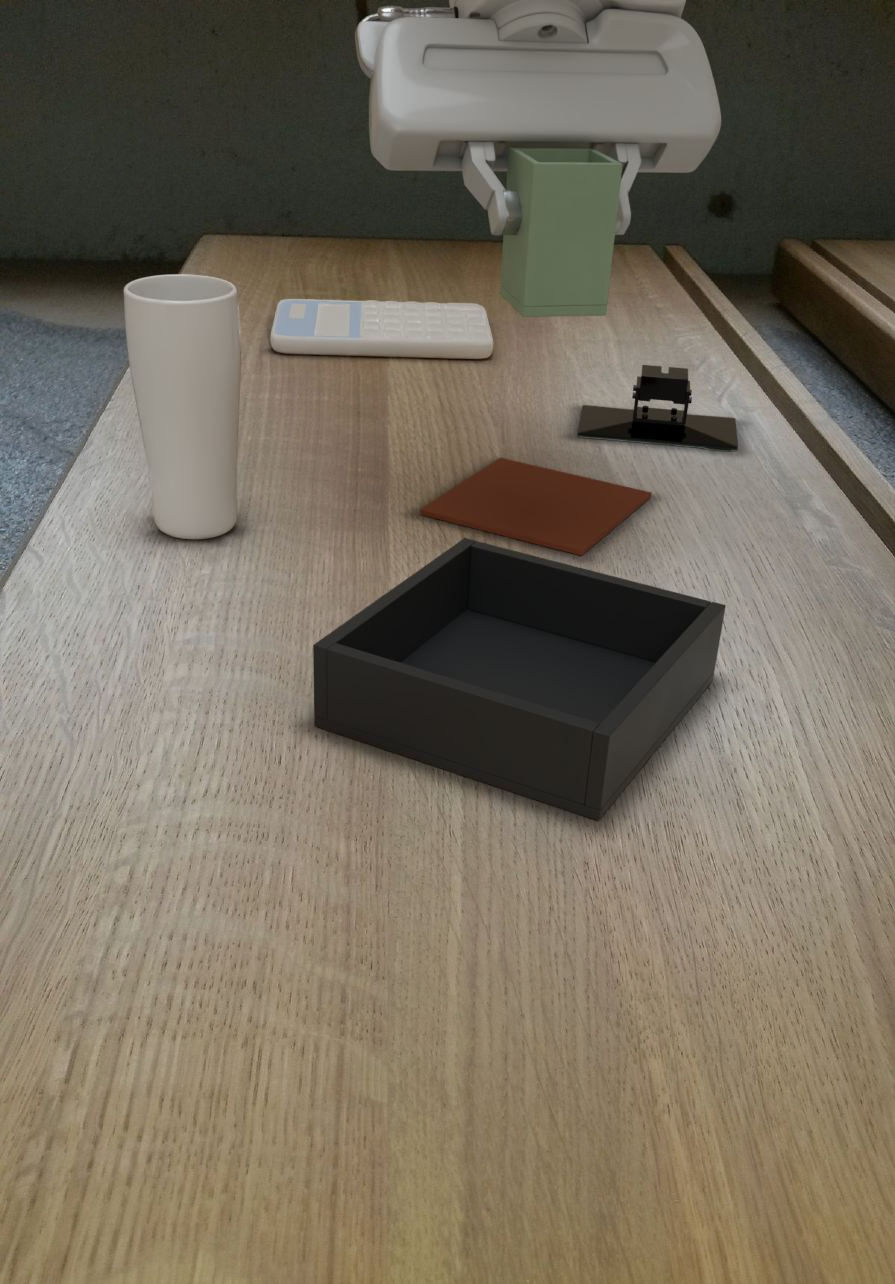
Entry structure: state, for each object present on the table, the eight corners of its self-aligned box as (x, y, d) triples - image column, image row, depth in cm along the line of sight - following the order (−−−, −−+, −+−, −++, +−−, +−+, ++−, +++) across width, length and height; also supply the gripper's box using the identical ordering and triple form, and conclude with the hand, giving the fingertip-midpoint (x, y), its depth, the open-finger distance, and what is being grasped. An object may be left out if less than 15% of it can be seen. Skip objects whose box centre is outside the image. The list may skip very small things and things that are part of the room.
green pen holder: (579, 293, 82) (593, 148, 77) (606, 316, 78) (622, 164, 73) (499, 294, 80) (508, 147, 76) (522, 317, 77) (534, 163, 72)
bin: (713, 681, 74) (726, 604, 71) (598, 821, 62) (609, 735, 60) (460, 610, 80) (464, 537, 77) (314, 726, 68) (312, 644, 66)
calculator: (494, 361, 121) (495, 339, 120) (269, 354, 120) (268, 333, 119) (484, 321, 132) (485, 300, 131) (278, 314, 131) (277, 294, 130)
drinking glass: (177, 556, 84) (158, 308, 76) (124, 521, 88) (100, 282, 80) (269, 532, 88) (260, 292, 80) (213, 499, 92) (200, 268, 84)
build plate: (734, 423, 110) (744, 366, 108) (737, 454, 104) (748, 394, 102) (582, 408, 111) (588, 351, 109) (576, 438, 105) (583, 378, 103)
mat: (651, 497, 96) (651, 492, 95) (581, 556, 87) (582, 550, 87) (499, 462, 100) (500, 457, 100) (419, 514, 91) (419, 509, 91)
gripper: (358, -37, 73) (390, 194, 71) (709, -22, 78) (751, 195, 75) (343, 48, 79) (372, 263, 77) (670, 56, 84) (707, 260, 81)
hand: (562, 229), depth 76 cm, fingers closed on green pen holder, 5 cm apart
